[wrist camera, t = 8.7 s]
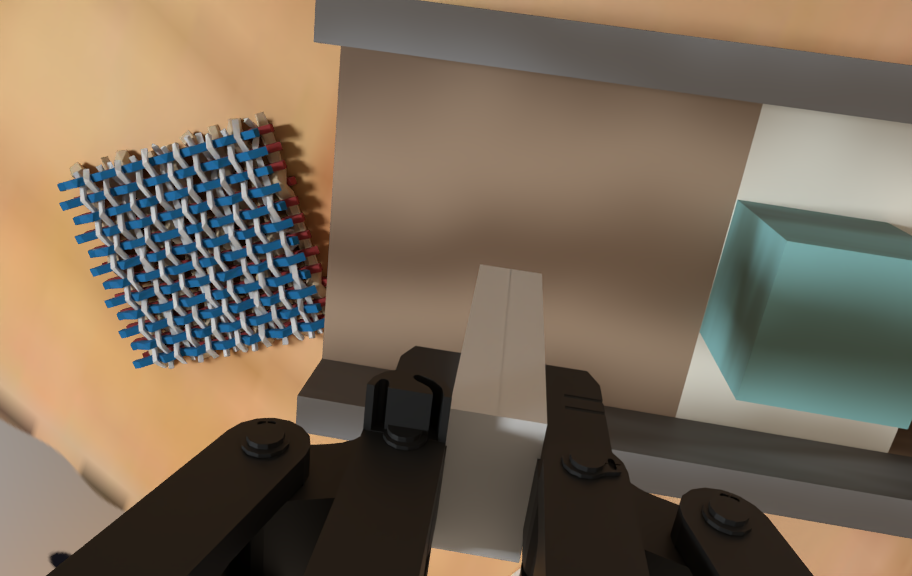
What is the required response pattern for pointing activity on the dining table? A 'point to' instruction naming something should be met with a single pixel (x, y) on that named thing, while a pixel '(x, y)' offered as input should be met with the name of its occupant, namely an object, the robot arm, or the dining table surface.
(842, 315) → the block
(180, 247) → the woven mat
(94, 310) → the dining table surface
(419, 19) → the track
